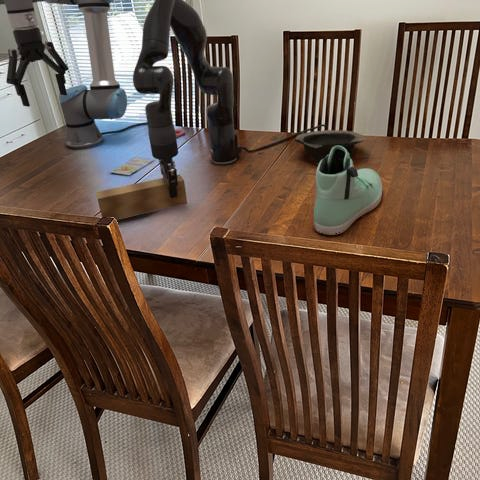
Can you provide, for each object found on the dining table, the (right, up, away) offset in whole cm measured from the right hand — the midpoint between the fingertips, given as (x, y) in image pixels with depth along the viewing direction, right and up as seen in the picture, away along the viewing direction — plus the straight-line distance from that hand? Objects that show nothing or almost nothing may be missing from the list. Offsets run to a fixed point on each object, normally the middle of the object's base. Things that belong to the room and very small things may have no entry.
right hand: (171, 193), depth 145 cm
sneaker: (+52, -5, -6) cm, 53 cm away
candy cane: (-8, +29, +58) cm, 65 cm away
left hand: (-41, +30, +8) cm, 52 cm away
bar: (-8, -5, -1) cm, 9 cm away
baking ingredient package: (-19, +13, +33) cm, 41 cm away
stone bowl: (+53, +16, +29) cm, 63 cm away
